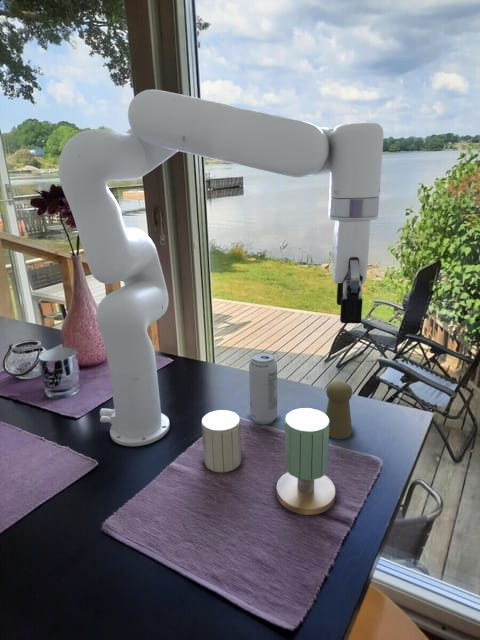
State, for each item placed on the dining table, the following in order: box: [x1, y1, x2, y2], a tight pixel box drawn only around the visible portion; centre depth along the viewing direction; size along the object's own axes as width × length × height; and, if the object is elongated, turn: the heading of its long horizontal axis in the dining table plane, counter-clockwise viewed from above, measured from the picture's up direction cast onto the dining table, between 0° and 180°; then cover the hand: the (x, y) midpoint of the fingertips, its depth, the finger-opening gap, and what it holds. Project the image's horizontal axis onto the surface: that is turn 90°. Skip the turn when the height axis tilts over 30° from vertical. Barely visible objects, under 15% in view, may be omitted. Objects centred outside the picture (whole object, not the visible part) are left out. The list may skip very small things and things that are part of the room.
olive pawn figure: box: [325, 380, 353, 440], centre depth 91 cm, size 6×6×11 cm
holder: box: [275, 471, 337, 516], centre depth 73 cm, size 10×10×14 cm
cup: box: [201, 409, 242, 473], centre depth 83 cm, size 7×7×9 cm
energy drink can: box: [248, 351, 278, 425], centre depth 96 cm, size 6×6×15 cm
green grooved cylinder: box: [284, 407, 330, 480], centre depth 72 cm, size 7×7×9 cm
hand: (347, 313), depth 74 cm, fingers open, 9 cm apart
